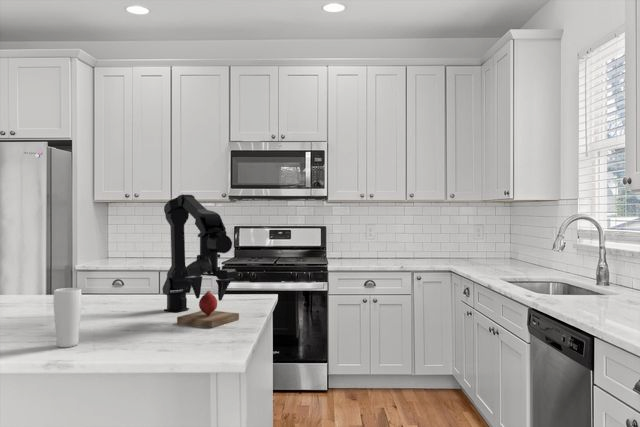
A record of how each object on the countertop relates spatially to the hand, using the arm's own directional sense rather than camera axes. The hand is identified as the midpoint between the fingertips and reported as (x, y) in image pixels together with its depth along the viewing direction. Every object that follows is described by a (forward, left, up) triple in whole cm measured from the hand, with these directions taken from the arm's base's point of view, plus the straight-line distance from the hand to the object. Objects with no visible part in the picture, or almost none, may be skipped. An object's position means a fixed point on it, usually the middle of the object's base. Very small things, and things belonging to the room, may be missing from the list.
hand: (208, 299), depth 167 cm
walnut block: (0, 0, -8) cm, 8 cm away
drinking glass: (-14, -41, -8) cm, 44 cm away
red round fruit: (0, 0, -5) cm, 5 cm away
